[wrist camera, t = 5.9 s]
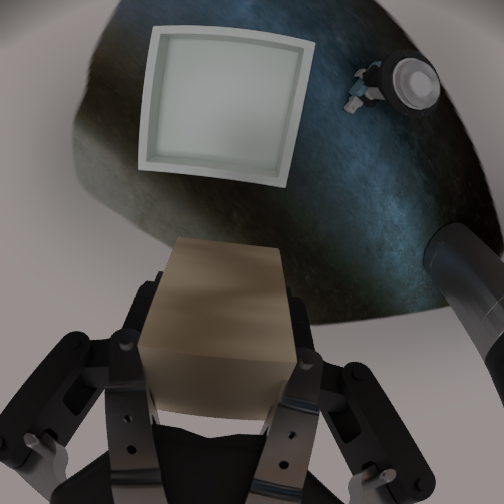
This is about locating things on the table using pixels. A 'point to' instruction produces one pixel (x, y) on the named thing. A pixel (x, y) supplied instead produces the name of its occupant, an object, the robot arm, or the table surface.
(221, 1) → the table surface
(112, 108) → the table surface
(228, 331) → the pine block
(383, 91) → the push button
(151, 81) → the tray
